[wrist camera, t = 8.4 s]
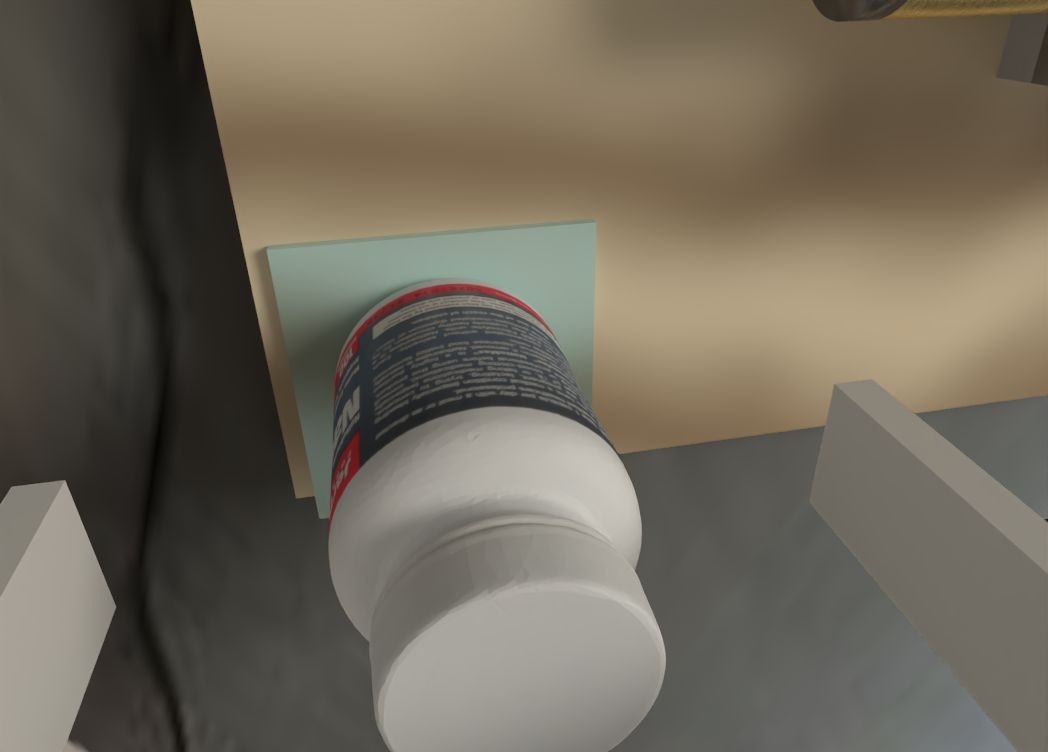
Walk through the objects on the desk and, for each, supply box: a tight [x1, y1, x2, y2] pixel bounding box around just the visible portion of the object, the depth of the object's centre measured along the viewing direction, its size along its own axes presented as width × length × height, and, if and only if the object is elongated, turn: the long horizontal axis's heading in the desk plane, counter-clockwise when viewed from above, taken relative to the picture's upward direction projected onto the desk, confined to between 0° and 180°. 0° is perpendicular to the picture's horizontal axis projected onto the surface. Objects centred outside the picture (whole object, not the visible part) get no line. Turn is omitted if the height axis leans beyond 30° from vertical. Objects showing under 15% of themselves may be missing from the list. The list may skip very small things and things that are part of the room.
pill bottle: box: [328, 278, 666, 752], centre depth 14 cm, size 5×5×9 cm
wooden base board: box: [191, 0, 1048, 519], centre depth 16 cm, size 16×26×8 cm, turn 91°
